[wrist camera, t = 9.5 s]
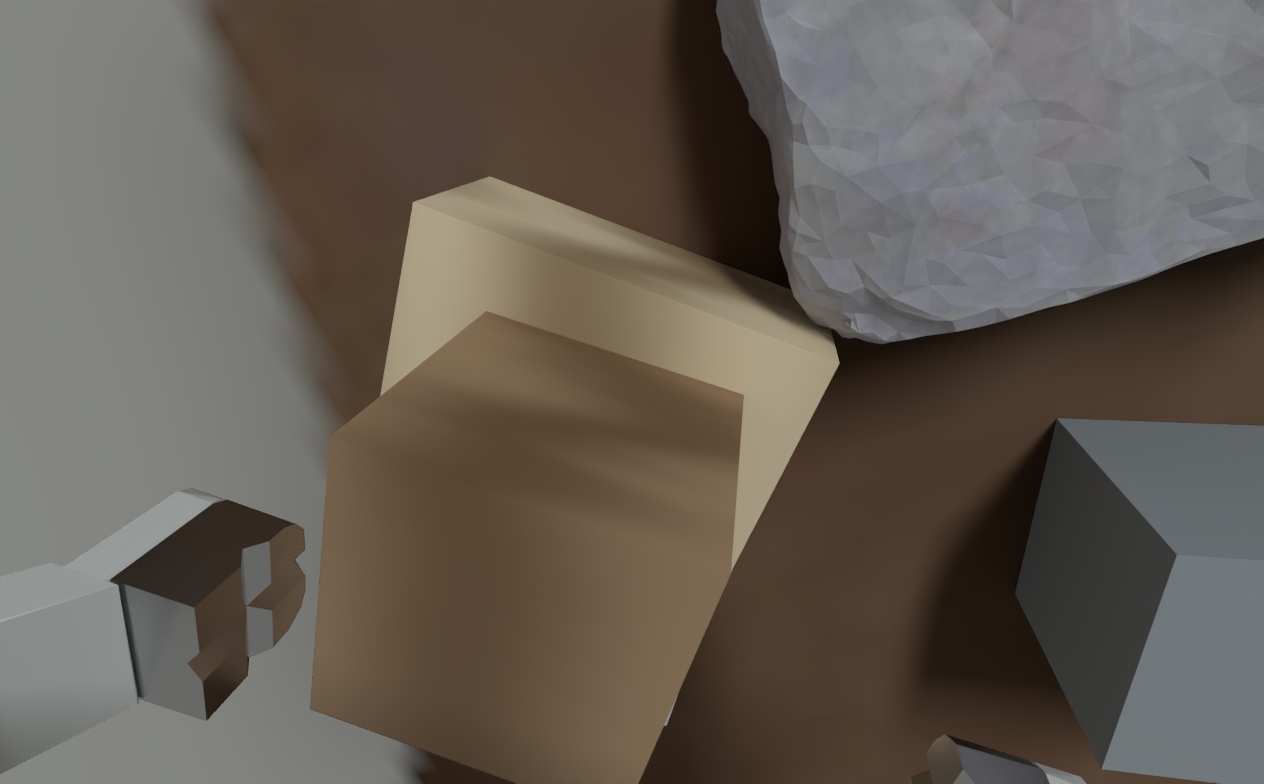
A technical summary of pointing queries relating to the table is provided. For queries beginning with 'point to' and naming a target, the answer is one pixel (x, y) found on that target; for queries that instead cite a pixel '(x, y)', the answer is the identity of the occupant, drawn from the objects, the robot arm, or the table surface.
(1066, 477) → the slate cube
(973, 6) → the stone block
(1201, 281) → the table surface
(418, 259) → the oak base block
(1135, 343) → the table surface
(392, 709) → the walnut cube
